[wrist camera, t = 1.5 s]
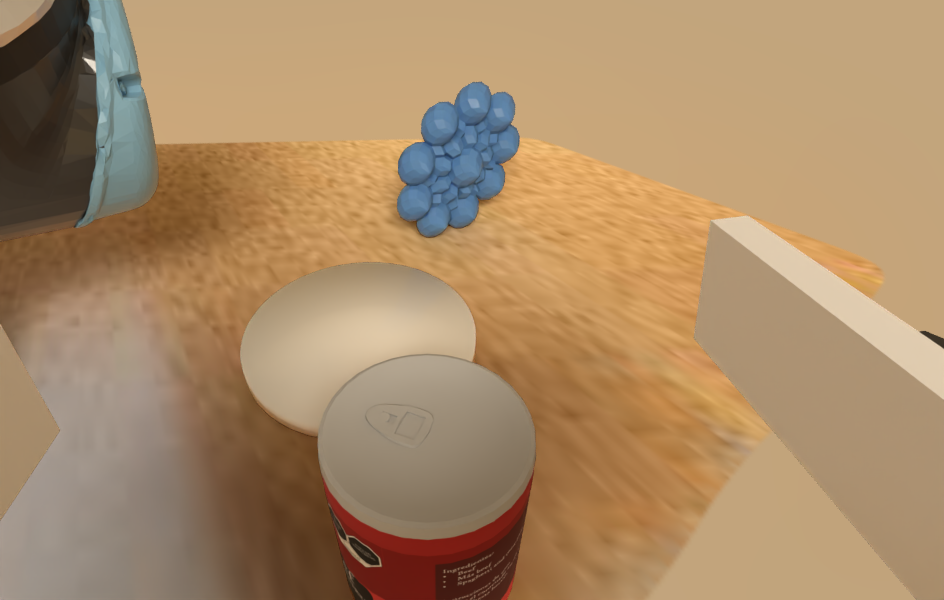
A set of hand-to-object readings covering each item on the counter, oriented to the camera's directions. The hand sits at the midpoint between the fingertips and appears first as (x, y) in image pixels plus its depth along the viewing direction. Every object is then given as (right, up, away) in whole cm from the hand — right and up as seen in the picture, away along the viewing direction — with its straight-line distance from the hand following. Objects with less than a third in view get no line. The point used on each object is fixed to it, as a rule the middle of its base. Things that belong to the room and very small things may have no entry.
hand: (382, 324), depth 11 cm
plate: (-6, -3, +28) cm, 29 cm away
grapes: (0, +7, +40) cm, 40 cm away
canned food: (0, -13, +17) cm, 21 cm away
